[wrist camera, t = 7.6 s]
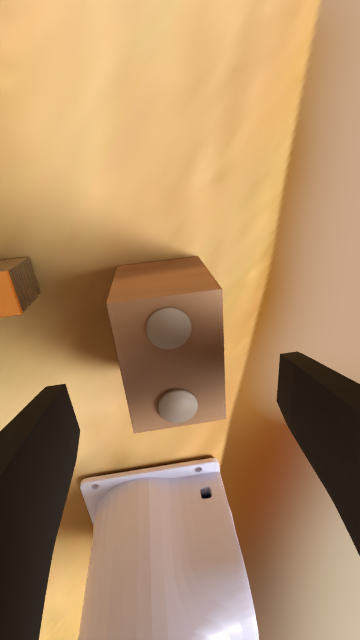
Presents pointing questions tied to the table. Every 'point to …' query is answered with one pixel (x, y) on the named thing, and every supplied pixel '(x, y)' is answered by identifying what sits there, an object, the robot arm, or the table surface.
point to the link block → (169, 342)
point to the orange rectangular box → (17, 286)
